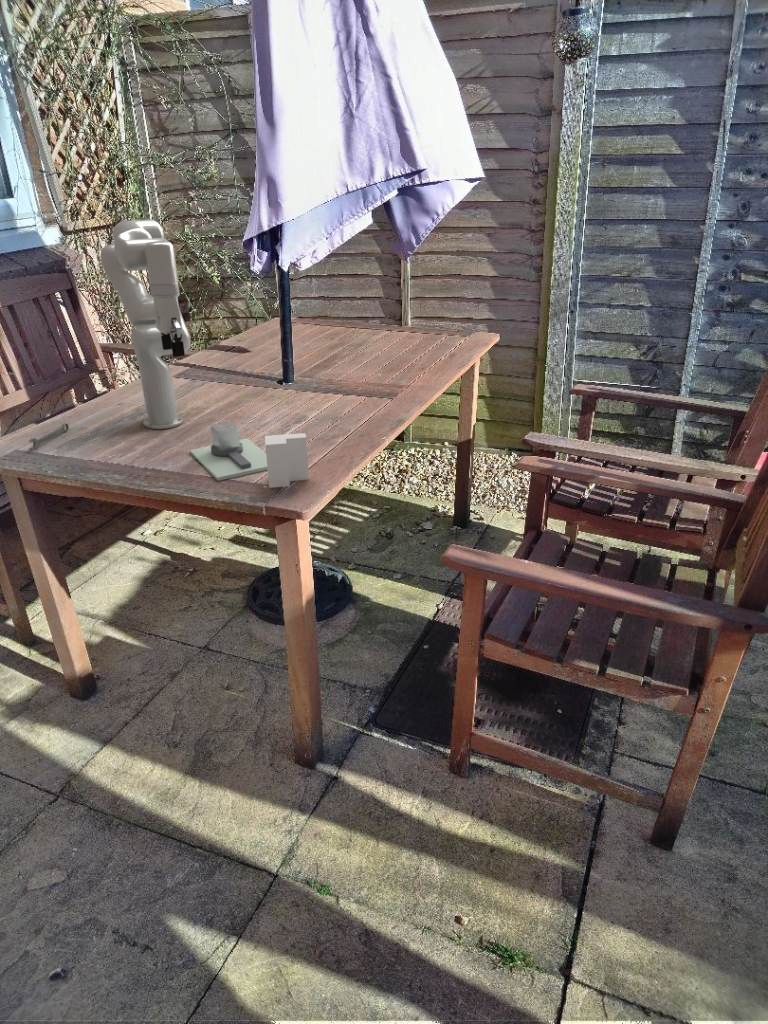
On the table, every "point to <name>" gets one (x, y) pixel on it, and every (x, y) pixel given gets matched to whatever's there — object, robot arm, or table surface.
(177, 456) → the table surface
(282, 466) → the corner bracket
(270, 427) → the table surface
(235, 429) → the brushed aluminum cube
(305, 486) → the table surface
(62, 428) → the combination wrench
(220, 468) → the board
